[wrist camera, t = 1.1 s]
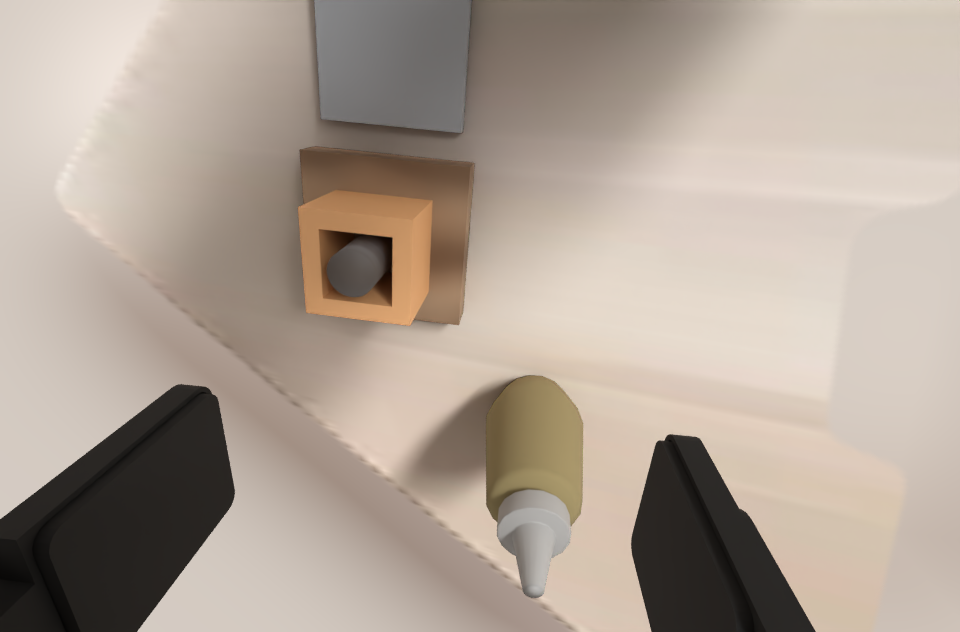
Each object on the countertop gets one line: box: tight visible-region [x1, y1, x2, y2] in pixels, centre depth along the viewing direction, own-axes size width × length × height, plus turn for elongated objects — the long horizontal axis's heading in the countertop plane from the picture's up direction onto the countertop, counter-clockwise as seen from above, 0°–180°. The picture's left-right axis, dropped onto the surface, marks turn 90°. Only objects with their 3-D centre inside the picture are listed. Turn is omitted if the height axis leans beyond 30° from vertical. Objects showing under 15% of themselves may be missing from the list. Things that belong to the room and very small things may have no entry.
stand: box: [300, 146, 475, 325], centre depth 33 cm, size 12×12×10 cm
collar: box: [298, 190, 433, 326], centre depth 32 cm, size 7×7×6 cm
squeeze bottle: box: [486, 375, 583, 598], centre depth 34 cm, size 8×8×18 cm
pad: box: [314, 0, 472, 133], centre depth 31 cm, size 10×10×1 cm
